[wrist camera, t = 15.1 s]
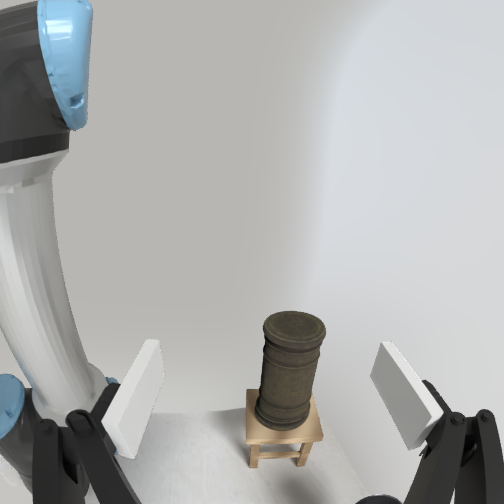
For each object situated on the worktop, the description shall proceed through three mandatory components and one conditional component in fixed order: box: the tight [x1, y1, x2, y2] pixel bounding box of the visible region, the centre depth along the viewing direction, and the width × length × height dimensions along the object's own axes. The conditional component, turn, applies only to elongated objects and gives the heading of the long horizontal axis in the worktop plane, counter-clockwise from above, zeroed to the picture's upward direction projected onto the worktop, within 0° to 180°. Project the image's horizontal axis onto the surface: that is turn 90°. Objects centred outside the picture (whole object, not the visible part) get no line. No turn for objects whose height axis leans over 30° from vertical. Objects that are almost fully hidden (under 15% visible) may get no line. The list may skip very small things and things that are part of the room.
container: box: [255, 311, 326, 431], centre depth 37 cm, size 9×9×18 cm
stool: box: [246, 389, 323, 468], centre depth 41 cm, size 12×12×12 cm
